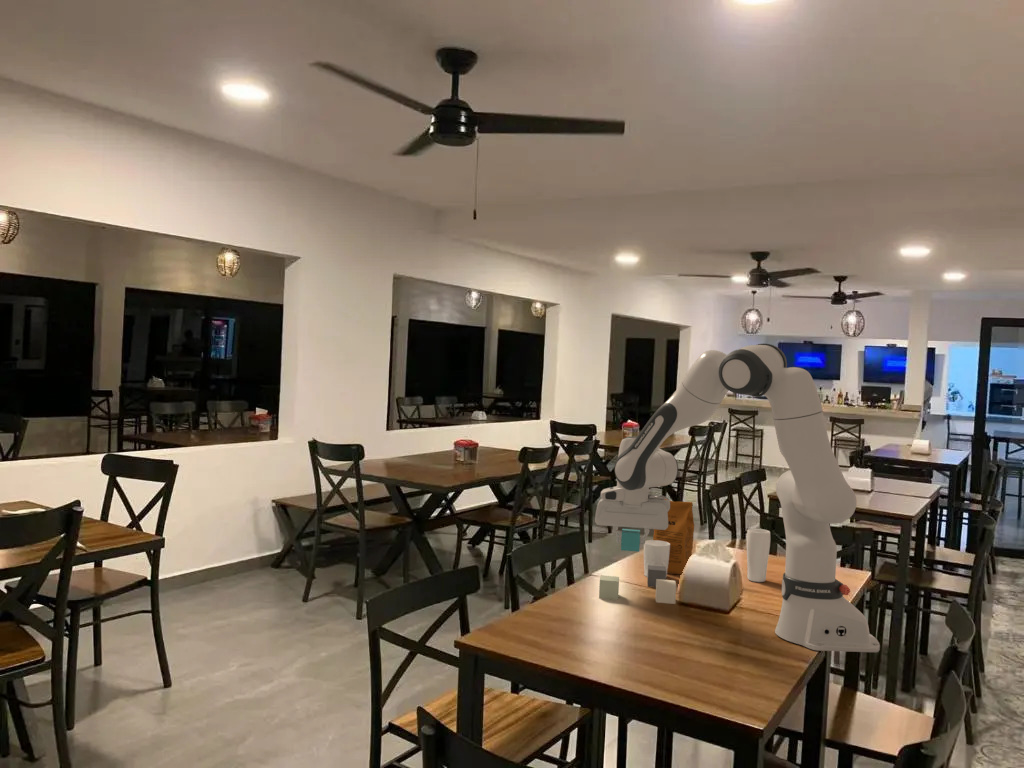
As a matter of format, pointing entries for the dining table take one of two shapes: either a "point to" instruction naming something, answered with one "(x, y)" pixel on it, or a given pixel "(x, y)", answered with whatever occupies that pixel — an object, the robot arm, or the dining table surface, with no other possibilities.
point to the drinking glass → (757, 554)
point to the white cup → (656, 554)
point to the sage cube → (609, 587)
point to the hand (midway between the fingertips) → (630, 543)
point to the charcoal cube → (655, 574)
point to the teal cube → (630, 540)
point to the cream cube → (665, 591)
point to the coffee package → (678, 535)
